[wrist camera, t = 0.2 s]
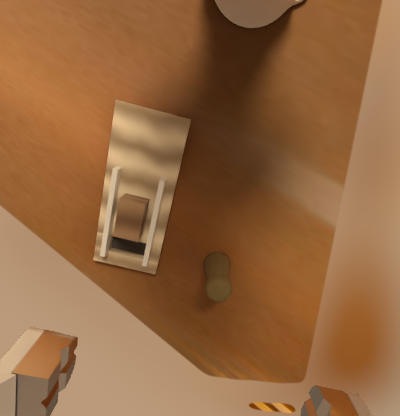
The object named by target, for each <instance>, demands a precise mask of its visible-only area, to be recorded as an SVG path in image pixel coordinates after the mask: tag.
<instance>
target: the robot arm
mask: <svg viewBox="0 0 400 416" xmlns="http://www.w3.org/2000/svg"><path fill="white" fill-rule="evenodd" d="M302 1H304V0H215V2H216V4H217V6H218V8H219V9H220V11H221V12H222V14H223V15H224V16H225V17H226V18H227V19H228V20H230V21H231V22H233V23H234V24H236V25H239V26H242V27H246V28H258V27H262V26H265V25H268V24H270V23H272V22H274V21H275V20H276V19H278V18H279V17H280V16H281V15H282V14H283V13H284V12H285V11H286V10H287V9H288V8H290V7H291V6H293V5H296V4H298V3H300V2H302ZM77 340H78V338H77V337H75V336H71V335H66V334H62V333H58V332H54V331H49V330H44V329H40V328H35V327H31V328H29V329H27V330H26V331H25V333H24V334H23V335H22V336H21V337H20V338H19V339H18V340H17V342H16V343H15V344H14V345H13V346H12V347H11V348H10V350H9V351H8V352H7V353H6V354H5V355H4V357H3V358H2V359H1V360H0V416H50V415H51V413H52V411H53V409H54V407H55V406H56V404H57V401H58V392H60V391H61V390H63V389H64V388H65V387H66V385H67V383H68V381H69V379H70V377H71V374H72V372H73V369H74V365H75V360H76V355H75V354H74V350H75V349H76V347H77ZM309 394H310V397H311V398H310V399H309V400H307V401H306V402H304V405H303V407H302V409H301V416H372V415H371V413H370V411H369V409H368V407H367V405H366V404H365V402H364V400H363V398H362V397H361V396H360V395H359V394H357V393H352V392H347V391H342V390H337V389H332V388H327V387H321V386H316V385H315V386H313V387H312V388H311V390H310V392H309Z"/></svg>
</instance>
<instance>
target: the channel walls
mask: <svg viewBox="0 0 400 416" xmlns="http://www.w3.org/2000/svg"><path fill="white" fill-rule="evenodd" d="M121 170H122V167H118V166H116V167H114V168H113V169H112V176H111V183H110V190H109V197H108V203H107V210H106V217H105V224H104V231H103V237H102V244H101V251H100V256H102V257H105V256H106V254H107V253H108V252H109V246H110V240H111V234H112V227H113V221H114V215H115V208H116V202H117V196H118V189H119V183H120V177H121ZM165 184H166V178H161V179H160V180H159V185H158V190H157V195H156V200H155V205H154V209H153V214H152V219H151V224H150V229H149V234H148V239H147V243H146V248H145V253H144V258H143V263H142V266H145V267H147V265H148V262H149V259H150V254H151V249H152V245H153V240H154V235H155V231H156V226H157V221H158V217H159V212H160V207H161V203H162V198H163V193H164V189H165Z"/></svg>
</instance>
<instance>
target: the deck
mask: <svg viewBox="0 0 400 416" xmlns="http://www.w3.org/2000/svg"><path fill="white" fill-rule="evenodd" d="M190 122H191V119H188V118H184V117H180V116H177V115H173V114H169V113H165V112H161V111H158V110H154V109H150V108H146V107H142V106H139V105H135V104H131V103H127V102H123V101H120V100H116V102H115V109H114V116H113V123H112V130H111V138H110V145H109V152H108V159H107V166H106V174H105V181H104V188H103V195H102V202H101V209H100V217H99V224H98V231H97V238H96V245H95V252H94V260H95V261H100V262H104V263H108V264H112V265H117V266H121V267H125V268H130V269H134V270H138V271H142V272H147V273H151V274H156V271H157V267H158V263H159V258H160V254H161V250H162V245H163V241H164V237H165V232H166V228H167V223H168V219H169V215H170V210H171V206H172V201H173V197H174V193H175V188H176V184H177V179H178V175H179V171H180V166H181V162H182V157H183V153H184V149H185V144H186V140H187V135H188V131H189V127H190ZM116 166H118V167H122V170H121V177H120V183H119V189H118V196H117V202H116V208H115V215H114V221H113V227H112V234H111V240H110V246H109V252H108V253H107V254H106V256H105V257H102V256H100V251H101V244H102V237H103V231H104V224H105V217H106V210H107V203H108V197H109V190H110V183H111V176H112V169H113V168H114V167H116ZM161 178H166V184H165V189H164V193H163V198H162V203H161V207H160V212H159V217H158V221H157V226H156V231H155V235H154V240H153V245H152V249H151V254H150V259H149V262H148V265H147V267H145V266H142V263H143V258H144V253H145V248H146V243H147V239H148V234H149V229H150V224H151V219H152V214H153V209H154V205H155V200H156V195H157V190H158V185H159V180H160V179H161ZM125 193H127V194H131V195H135V196H139V197H143V198H147V199H150V200H149V205H148V210H147V215H146V220H145V225H144V230H143V234H142V236H141V238H140V240H139V241H138V242H135V241H131V240H127V239H123V238H118V237H114V236H113V235H114V228H115V222H116V216H117V210H118V203H119V198H121V197H122V196H123V195H124V194H125Z"/></svg>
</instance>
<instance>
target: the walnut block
mask: <svg viewBox="0 0 400 416" xmlns="http://www.w3.org/2000/svg"><path fill="white" fill-rule="evenodd" d="M149 200H150V199H147V198H143V197H139V196H135V195H131V194H127V193H125V194H124V195H123V196H122V197H121V198H119V203H118V210H117V216H116V222H115V228H114V235H113V236H114V237H118V238H123V239H127V240H131V241H135V242H138V241H139V240H140V238H141V236H142V234H143V230H144V225H145V220H146V215H147V210H148V205H149Z"/></svg>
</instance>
